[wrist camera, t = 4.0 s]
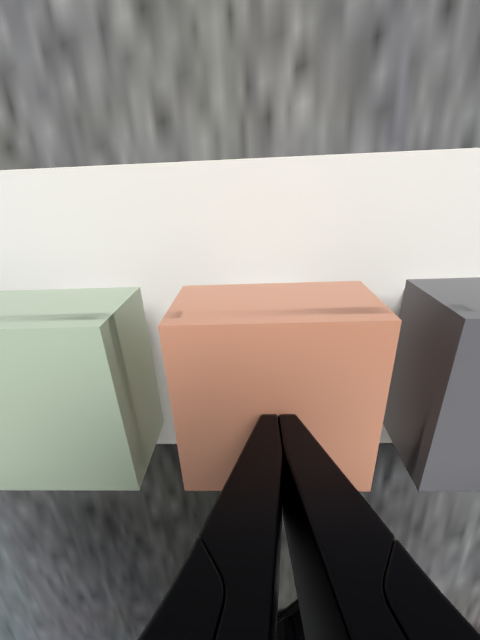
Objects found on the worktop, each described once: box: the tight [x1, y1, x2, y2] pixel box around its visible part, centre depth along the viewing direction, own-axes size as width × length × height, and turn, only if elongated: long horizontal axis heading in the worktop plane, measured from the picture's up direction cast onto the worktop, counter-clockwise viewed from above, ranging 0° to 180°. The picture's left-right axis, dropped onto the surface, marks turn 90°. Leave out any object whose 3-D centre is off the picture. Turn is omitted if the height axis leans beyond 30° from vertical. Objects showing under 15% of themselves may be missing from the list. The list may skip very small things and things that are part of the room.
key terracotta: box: [158, 281, 402, 491], centre depth 9 cm, size 5×5×3 cm
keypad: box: [0, 148, 480, 444], centre depth 12 cm, size 26×12×4 cm, turn 92°
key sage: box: [0, 287, 164, 491], centre depth 9 cm, size 5×5×3 cm
